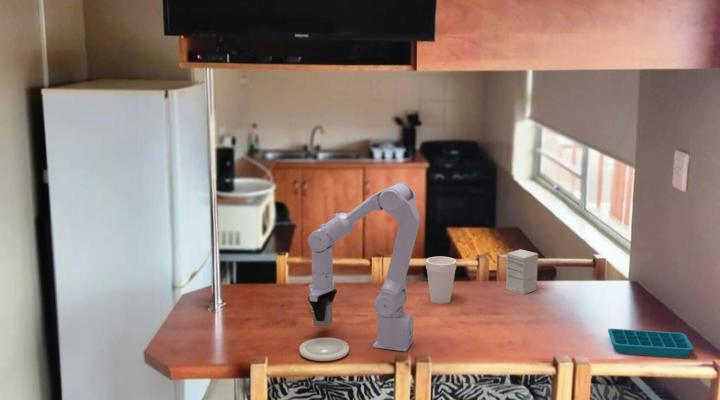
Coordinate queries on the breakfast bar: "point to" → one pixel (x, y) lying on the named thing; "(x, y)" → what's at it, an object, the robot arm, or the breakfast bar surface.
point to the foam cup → (440, 278)
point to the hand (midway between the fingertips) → (323, 317)
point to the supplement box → (521, 271)
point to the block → (327, 318)
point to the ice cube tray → (650, 343)
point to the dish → (324, 349)
